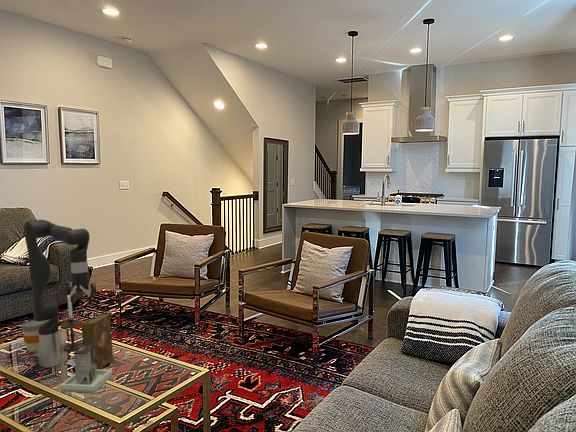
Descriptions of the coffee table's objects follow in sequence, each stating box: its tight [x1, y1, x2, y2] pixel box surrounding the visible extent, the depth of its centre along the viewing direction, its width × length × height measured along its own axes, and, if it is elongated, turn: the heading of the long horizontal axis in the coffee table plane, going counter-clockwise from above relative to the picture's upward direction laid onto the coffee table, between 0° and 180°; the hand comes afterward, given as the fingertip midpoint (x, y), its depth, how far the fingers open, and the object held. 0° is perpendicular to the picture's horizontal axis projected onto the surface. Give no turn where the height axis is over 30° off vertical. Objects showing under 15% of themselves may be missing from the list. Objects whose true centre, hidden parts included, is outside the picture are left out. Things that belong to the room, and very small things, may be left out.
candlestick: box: [59, 295, 83, 352], centre depth 242 cm, size 11×11×35 cm
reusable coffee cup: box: [21, 319, 48, 353], centre depth 244 cm, size 13×13×15 cm
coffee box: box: [73, 344, 97, 385], centre depth 202 cm, size 9×6×16 cm
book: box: [81, 312, 114, 370], centre depth 220 cm, size 16×6×25 cm, turn 168°
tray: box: [59, 369, 113, 394], centre depth 203 cm, size 16×16×3 cm
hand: (82, 303), depth 208 cm, fingers open, 8 cm apart
